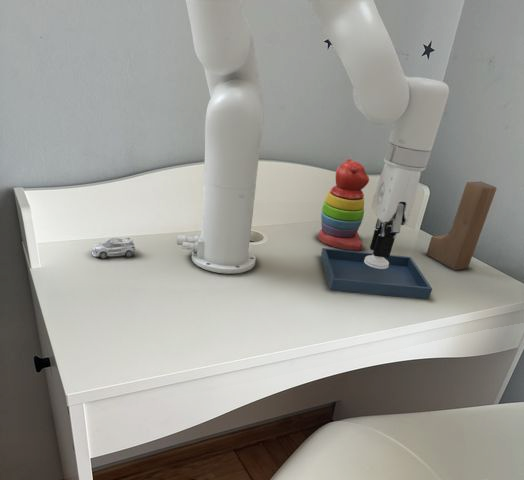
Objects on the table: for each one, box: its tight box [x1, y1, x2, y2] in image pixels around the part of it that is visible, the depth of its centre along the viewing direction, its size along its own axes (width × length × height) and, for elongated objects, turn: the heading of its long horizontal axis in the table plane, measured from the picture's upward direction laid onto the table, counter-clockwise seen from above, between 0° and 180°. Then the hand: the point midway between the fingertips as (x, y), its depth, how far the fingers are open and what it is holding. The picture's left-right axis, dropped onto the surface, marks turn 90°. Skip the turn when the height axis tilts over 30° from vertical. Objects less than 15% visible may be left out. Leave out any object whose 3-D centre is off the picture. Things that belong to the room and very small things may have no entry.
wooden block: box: [426, 181, 497, 271], centre depth 112 cm, size 9×4×18 cm, turn 29°
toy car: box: [91, 237, 136, 260], centre depth 98 cm, size 4×8×3 cm, turn 114°
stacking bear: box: [317, 158, 370, 252], centre depth 115 cm, size 11×10×18 cm
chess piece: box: [364, 219, 393, 269], centre depth 100 cm, size 5×5×10 cm
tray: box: [320, 247, 433, 300], centre depth 104 cm, size 19×15×2 cm
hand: (379, 252), depth 101 cm, fingers closed on chess piece
